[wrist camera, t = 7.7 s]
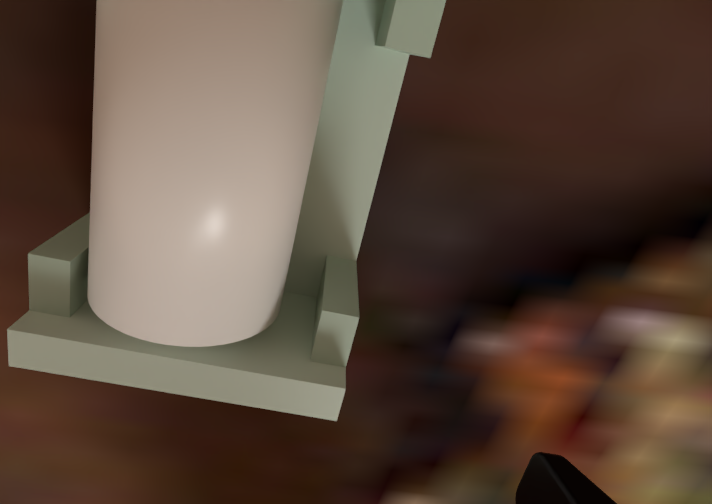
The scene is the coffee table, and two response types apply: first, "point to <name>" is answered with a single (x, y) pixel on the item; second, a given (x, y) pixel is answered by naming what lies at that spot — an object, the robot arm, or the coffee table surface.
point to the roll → (201, 160)
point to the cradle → (307, 263)
